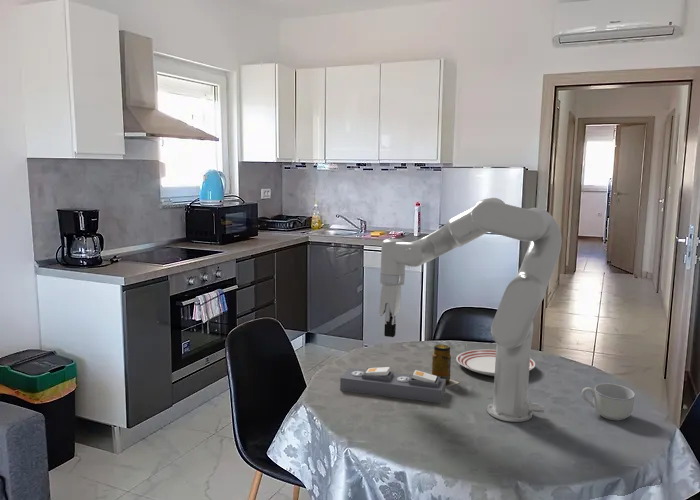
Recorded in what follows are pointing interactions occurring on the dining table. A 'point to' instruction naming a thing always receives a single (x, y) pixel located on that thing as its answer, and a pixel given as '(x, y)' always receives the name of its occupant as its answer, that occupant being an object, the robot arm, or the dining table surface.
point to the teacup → (611, 400)
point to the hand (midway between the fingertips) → (389, 335)
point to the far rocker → (378, 371)
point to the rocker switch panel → (393, 385)
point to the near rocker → (424, 376)
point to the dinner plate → (481, 361)
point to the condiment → (442, 363)
